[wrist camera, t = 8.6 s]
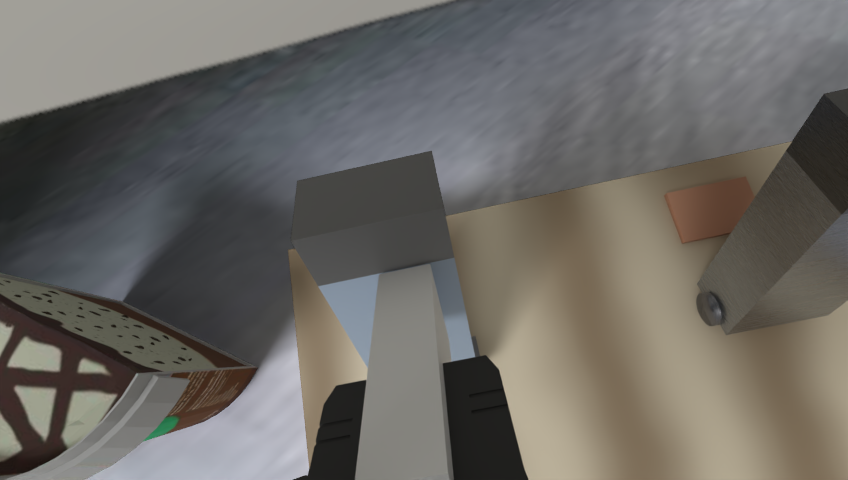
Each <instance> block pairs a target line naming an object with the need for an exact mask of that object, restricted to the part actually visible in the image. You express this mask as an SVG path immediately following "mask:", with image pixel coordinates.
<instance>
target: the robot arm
mask: <svg viewBox="0 0 848 480" xmlns="http://www.w3.org/2000/svg"><path fill="white" fill-rule="evenodd" d="M319 425H320V428H318V432H317V437H316V445H315V446H314V450H313V455H312V460H311V464H310V469H309V473H308V476H302V477H299V478H296V479H294V480H529V479H528V477H527V474H526V472H525V469H524V465H523V461H522V458H521V454H520V450H519V446H518V442H517V438H516V434H515V430H514V426H513V422H512V418H511V414H510V410H509V407H508V403H507V399H506V395H505V391H504V387H503V383H502V379H501V375H500V371H499V369H498V368H497V367H496V365H495V364H494V363H493V362H492V361H491V360H490V359H489V358H488V357H487V356H486V355H483V356H478V357H473V358H468V359H462V360H457V361H452V360H451V352H450V344H449V337H448V333H447V329H446V325H445V321H444V317H443V313H442V309H441V305H440V301H439V297H438V293H437V289H436V285H435V281H434V277H433V273H432V269H431V265H430V264H426V265H421V266H416V267H412V268H407V269H402V270H398V271H393V272H388V273H383V274H379V278H378V286H377V295H376V304H375V312H374V321H373V329H372V338H371V346H370V355H369V363H368V372H367V380H362V381H357V382H352V383H346V384H341V385H336V386H335V388H334V389H333V391H332V392H331V394H330V395H329V397H328V399H327V400H326V402H325V403H324V405H323V410H322V414H321V419H320V423H319Z"/></svg>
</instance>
